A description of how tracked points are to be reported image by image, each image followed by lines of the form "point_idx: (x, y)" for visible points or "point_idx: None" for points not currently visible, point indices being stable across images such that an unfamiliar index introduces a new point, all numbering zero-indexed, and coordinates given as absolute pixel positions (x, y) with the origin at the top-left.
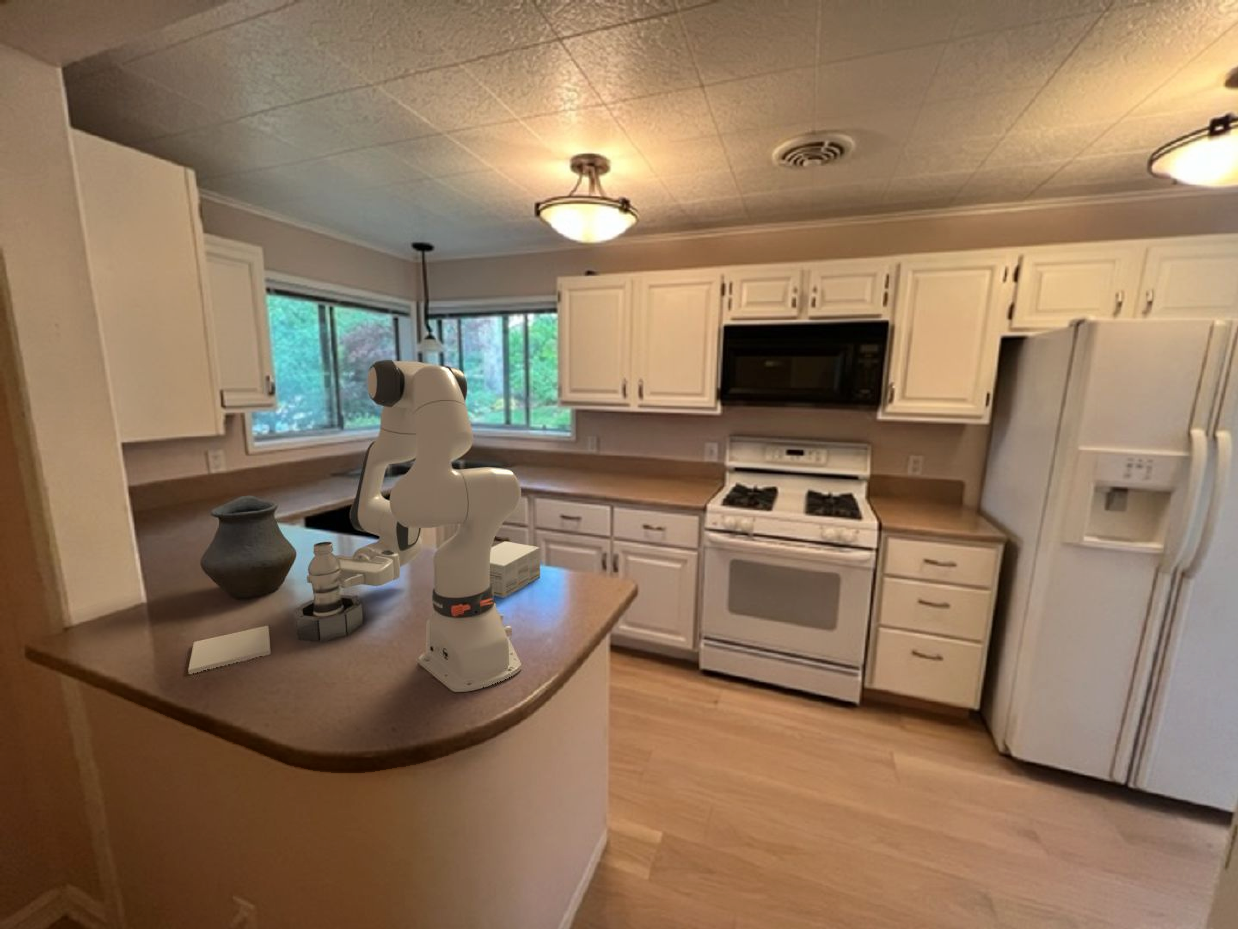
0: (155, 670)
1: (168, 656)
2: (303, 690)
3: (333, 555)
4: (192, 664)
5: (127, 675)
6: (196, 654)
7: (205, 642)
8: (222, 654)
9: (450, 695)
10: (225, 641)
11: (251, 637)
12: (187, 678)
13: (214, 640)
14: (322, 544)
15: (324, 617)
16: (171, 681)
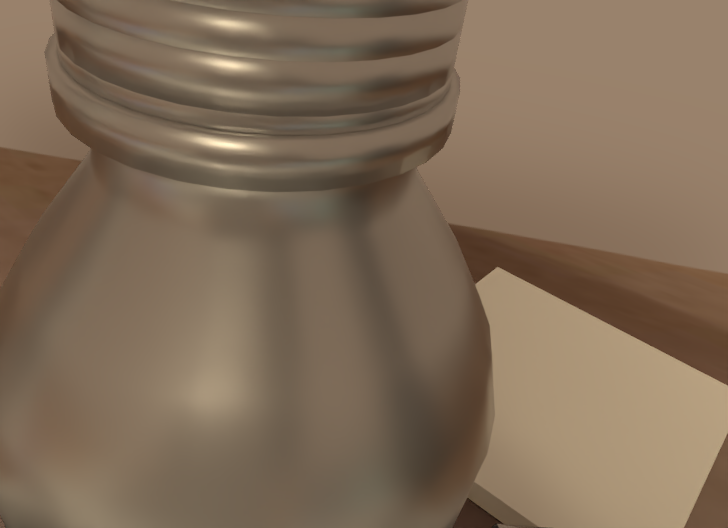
0: (626, 290)
1: (714, 348)
2: (7, 254)
3: (66, 222)
4: (525, 286)
5: (663, 268)
6: (600, 331)
7: (697, 398)
8: (505, 340)
9: None
10: (629, 416)
11: (561, 464)
12: (474, 271)
13: (685, 414)
14: (414, 7)
15: None
16: (501, 258)
